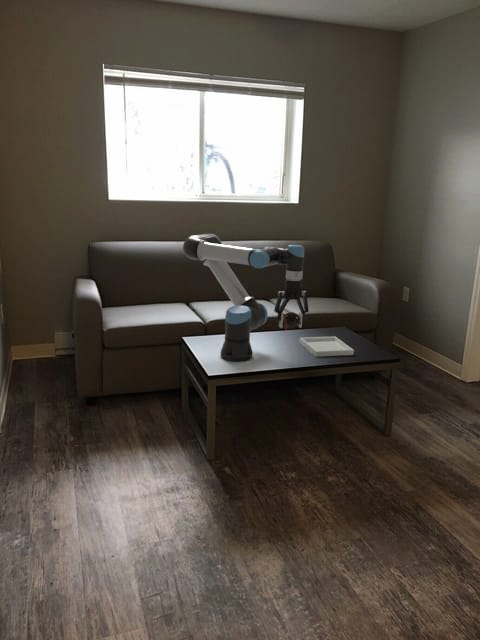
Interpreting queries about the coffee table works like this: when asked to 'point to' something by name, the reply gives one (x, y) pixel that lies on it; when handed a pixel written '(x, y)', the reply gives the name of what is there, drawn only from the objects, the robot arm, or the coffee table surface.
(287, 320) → the pottery mug
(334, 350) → the parts tray
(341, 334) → the coffee table surface
